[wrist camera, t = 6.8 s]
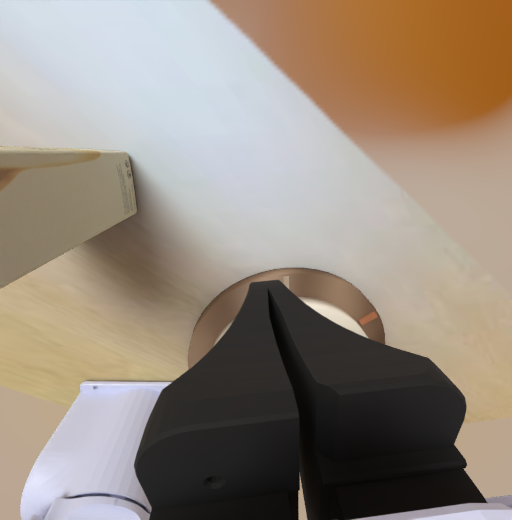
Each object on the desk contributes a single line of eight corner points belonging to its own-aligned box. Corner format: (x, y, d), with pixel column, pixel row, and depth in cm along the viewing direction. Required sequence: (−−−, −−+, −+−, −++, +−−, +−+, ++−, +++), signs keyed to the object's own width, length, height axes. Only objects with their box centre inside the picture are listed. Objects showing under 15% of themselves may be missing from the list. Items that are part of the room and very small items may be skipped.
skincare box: (129, 150, 17) (-95, 141, 5) (139, 214, 18) (-14, 308, 7) (28, 146, 16) (-459, 128, 5) (48, 212, 18) (-276, 312, 7)
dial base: (190, 415, 27) (188, 428, 26) (189, 260, 20) (186, 268, 19) (351, 414, 29) (356, 426, 28) (404, 274, 22) (415, 281, 21)
